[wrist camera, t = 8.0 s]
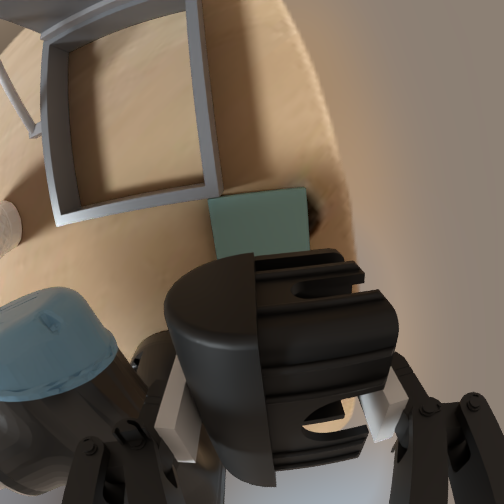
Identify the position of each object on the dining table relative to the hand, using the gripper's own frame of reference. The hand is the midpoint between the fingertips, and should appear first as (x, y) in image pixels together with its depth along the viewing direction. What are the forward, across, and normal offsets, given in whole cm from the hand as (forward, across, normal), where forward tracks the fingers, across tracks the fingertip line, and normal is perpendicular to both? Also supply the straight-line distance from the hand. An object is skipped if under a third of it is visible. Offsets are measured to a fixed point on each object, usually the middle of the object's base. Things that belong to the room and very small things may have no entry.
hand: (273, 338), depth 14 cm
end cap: (+1, 0, 0) cm, 1 cm away
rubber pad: (+15, 0, 0) cm, 15 cm away
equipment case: (+15, +12, -17) cm, 26 cm away
